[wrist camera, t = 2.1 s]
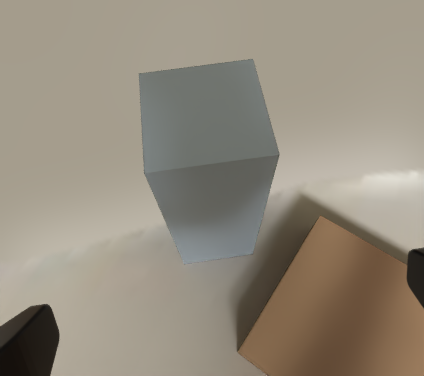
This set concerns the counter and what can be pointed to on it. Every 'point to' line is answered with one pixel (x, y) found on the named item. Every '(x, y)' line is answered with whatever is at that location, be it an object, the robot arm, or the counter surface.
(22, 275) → the counter surface
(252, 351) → the walnut base block
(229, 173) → the slate pillar
